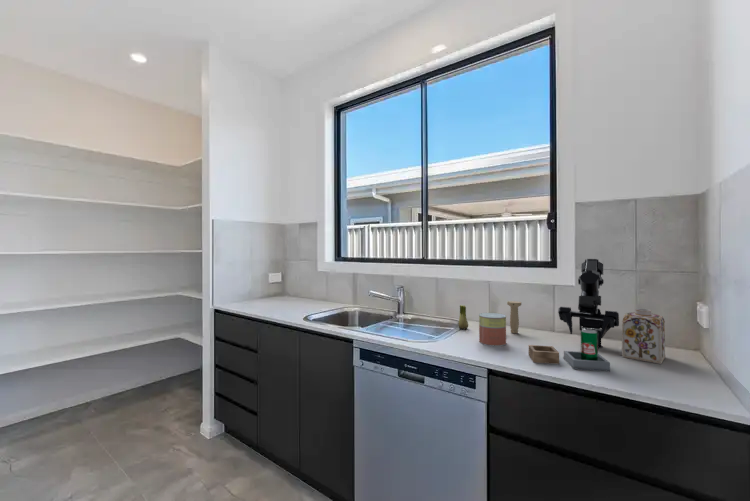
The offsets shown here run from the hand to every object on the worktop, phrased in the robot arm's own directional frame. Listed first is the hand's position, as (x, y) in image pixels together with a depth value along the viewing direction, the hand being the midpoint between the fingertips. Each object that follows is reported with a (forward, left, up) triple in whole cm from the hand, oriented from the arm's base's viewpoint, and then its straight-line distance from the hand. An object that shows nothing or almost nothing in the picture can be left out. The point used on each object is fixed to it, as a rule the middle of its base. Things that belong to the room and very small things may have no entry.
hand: (585, 335), depth 121 cm
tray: (+1, +1, -10) cm, 10 cm away
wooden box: (+14, -2, -10) cm, 17 cm away
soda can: (0, +2, -9) cm, 10 cm away
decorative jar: (-23, -13, -10) cm, 29 cm away
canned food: (+30, -22, -10) cm, 38 cm away
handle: (+18, -42, -10) cm, 46 cm away
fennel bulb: (+42, -46, -10) cm, 63 cm away
